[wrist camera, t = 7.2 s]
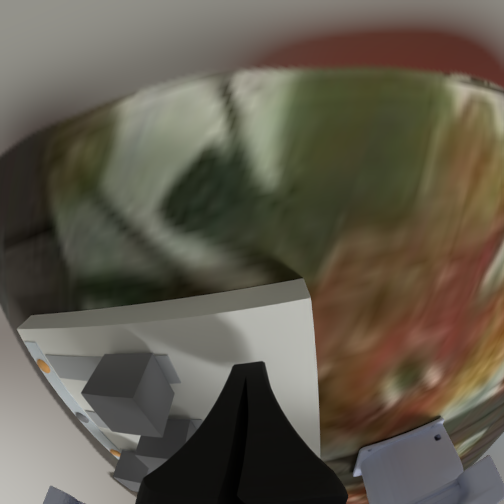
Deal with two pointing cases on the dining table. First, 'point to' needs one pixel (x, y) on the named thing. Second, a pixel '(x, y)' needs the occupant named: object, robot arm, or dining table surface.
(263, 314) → the switch panel
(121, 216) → the dining table surface
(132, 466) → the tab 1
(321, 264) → the dining table surface
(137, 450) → the dark gray cube
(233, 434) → the robot arm
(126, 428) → the gray cube
